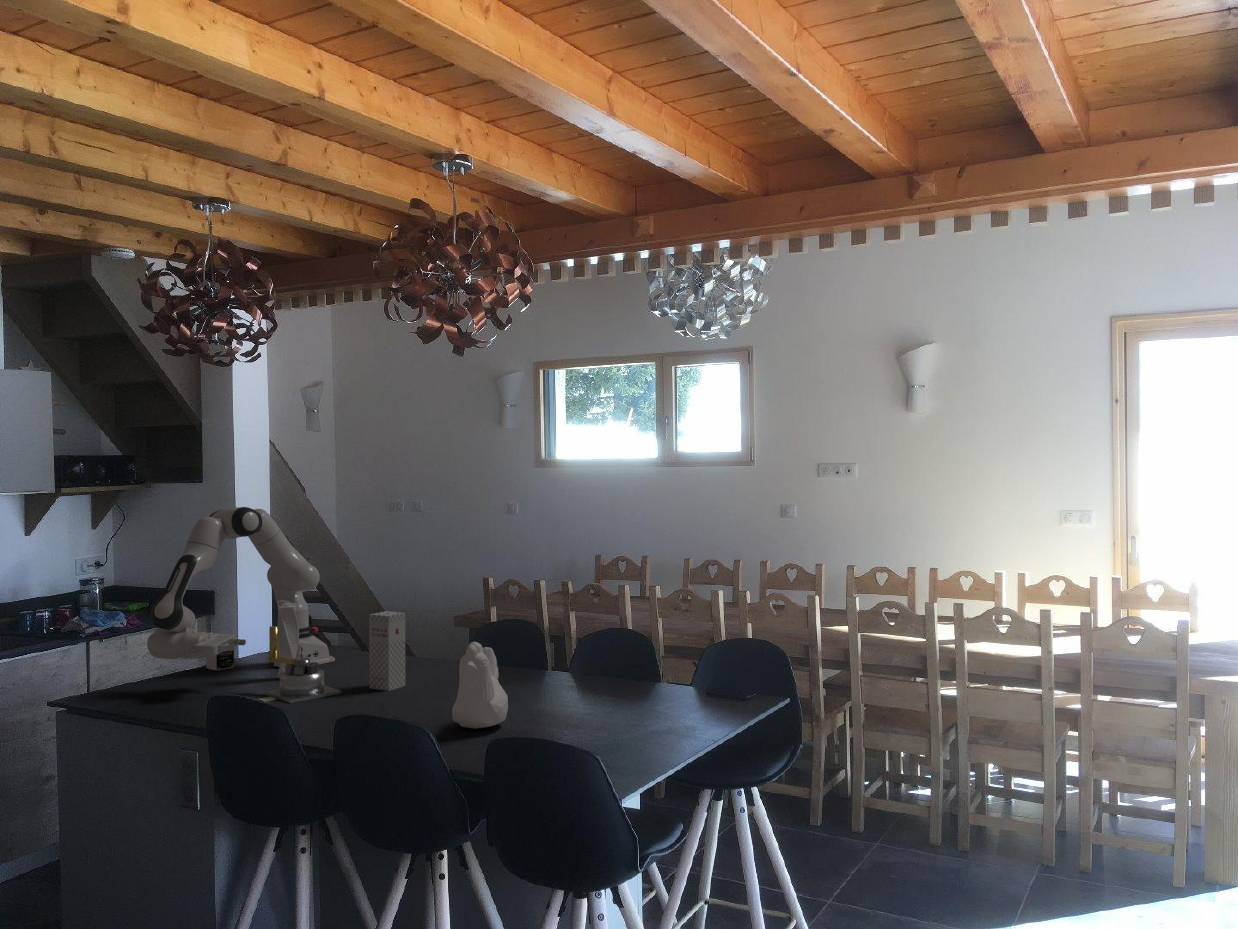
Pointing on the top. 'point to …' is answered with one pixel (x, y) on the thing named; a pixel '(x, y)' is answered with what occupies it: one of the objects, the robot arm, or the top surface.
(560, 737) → the top surface
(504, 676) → the top surface
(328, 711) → the top surface
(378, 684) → the box
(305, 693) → the metal pedestal base
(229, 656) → the medicine bottle
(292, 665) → the crank handle
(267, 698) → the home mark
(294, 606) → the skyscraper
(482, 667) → the white figurine
